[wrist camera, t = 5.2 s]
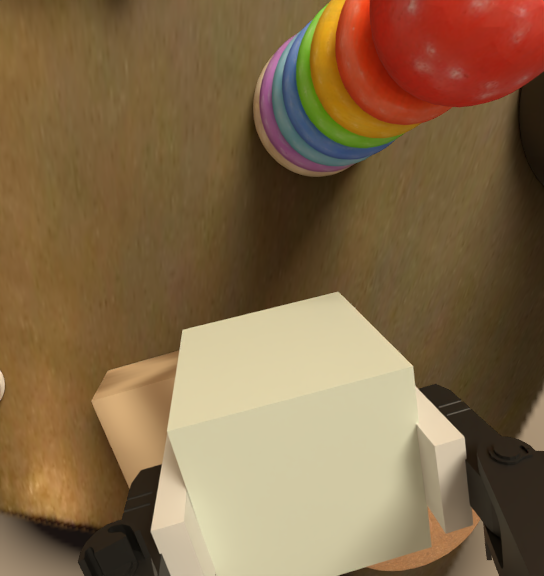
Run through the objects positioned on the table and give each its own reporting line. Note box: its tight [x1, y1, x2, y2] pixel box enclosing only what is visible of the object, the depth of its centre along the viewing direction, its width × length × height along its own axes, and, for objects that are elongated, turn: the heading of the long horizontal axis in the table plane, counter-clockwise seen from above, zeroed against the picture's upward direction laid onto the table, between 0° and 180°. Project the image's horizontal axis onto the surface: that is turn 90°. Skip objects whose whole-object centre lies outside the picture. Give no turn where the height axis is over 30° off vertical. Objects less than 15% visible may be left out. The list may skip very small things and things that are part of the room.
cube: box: [167, 292, 432, 576], centre depth 13 cm, size 6×6×6 cm
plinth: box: [91, 351, 179, 488], centre depth 28 cm, size 10×10×4 cm
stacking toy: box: [253, 0, 544, 177], centre depth 17 cm, size 8×8×19 cm
